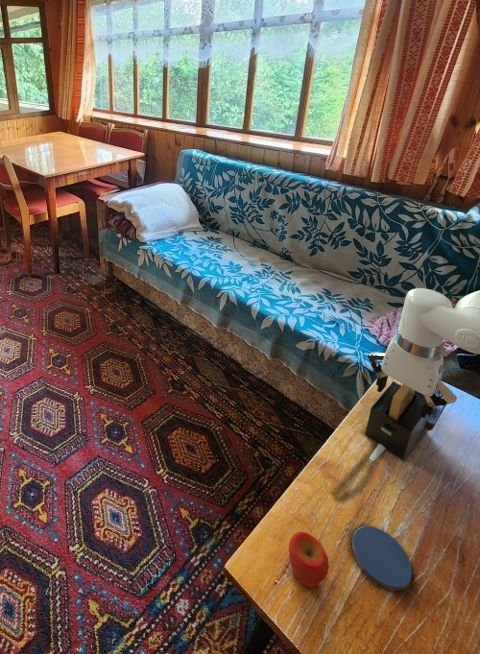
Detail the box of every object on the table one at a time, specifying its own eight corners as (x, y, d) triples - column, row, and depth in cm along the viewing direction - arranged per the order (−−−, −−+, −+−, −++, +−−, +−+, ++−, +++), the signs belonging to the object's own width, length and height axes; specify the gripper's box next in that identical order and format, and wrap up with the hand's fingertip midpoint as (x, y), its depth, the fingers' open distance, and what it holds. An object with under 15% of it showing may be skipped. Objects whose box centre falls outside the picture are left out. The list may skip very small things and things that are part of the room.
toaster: (386, 407, 96) (393, 381, 93) (423, 429, 90) (431, 402, 87) (363, 437, 90) (369, 409, 86) (401, 463, 83) (409, 435, 80)
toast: (401, 407, 92) (410, 374, 88) (409, 411, 91) (418, 379, 87) (385, 429, 87) (393, 395, 83) (392, 434, 86) (401, 400, 82)
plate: (402, 540, 70) (403, 536, 70) (418, 601, 62) (419, 597, 62) (348, 522, 74) (349, 518, 73) (356, 577, 66) (357, 573, 65)
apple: (330, 575, 66) (336, 550, 64) (314, 606, 63) (319, 581, 60) (296, 543, 71) (300, 519, 68) (279, 570, 67) (283, 545, 65)
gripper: (475, 357, 76) (454, 418, 82) (380, 315, 90) (369, 370, 95) (463, 375, 72) (442, 438, 78) (366, 329, 86) (355, 385, 92)
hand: (402, 400), depth 87 cm, fingers open, 8 cm apart
